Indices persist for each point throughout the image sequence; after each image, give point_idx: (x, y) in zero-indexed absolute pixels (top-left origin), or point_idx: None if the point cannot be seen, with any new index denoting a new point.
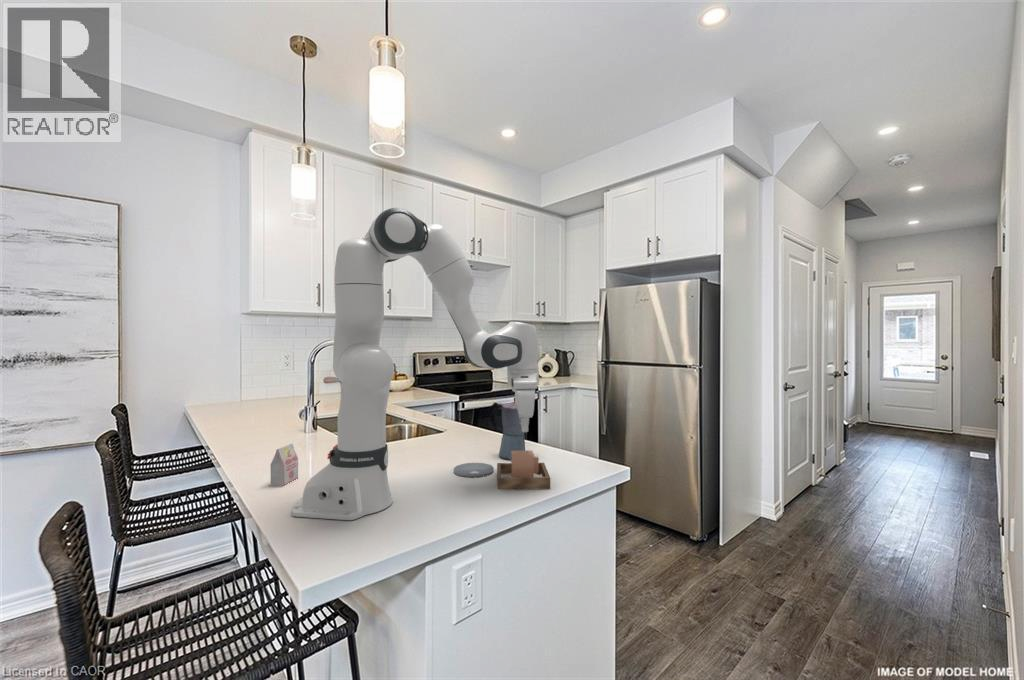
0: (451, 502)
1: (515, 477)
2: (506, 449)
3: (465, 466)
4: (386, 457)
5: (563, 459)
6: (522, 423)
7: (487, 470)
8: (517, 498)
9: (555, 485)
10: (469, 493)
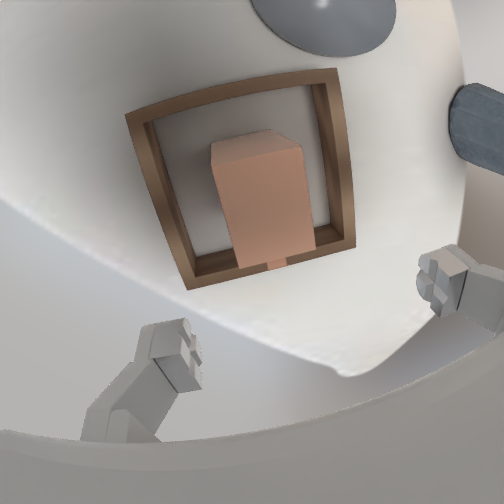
0: (21, 35)
1: (153, 177)
2: (476, 108)
3: None
4: None
5: None
6: (118, 385)
7: (316, 35)
8: (85, 196)
9: None
10: (87, 40)
